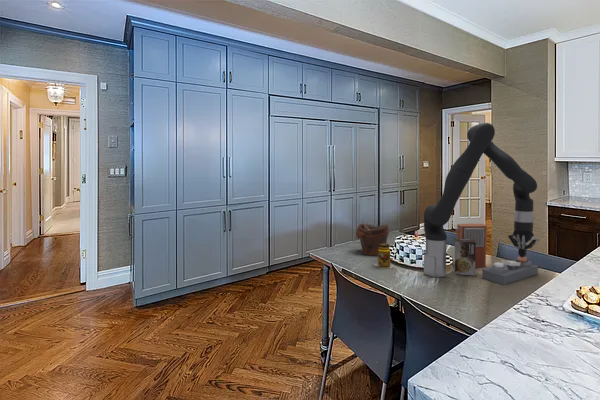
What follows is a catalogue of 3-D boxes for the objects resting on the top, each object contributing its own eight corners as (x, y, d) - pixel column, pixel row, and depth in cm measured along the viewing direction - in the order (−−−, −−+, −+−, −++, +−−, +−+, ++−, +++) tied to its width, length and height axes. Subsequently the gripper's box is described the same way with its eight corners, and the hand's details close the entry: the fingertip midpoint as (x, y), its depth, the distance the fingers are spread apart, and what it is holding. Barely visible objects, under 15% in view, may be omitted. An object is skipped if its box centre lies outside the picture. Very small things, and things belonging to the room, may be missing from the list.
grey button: (500, 269, 149) (500, 264, 148) (492, 267, 152) (492, 262, 152) (505, 268, 150) (505, 263, 150) (497, 266, 153) (497, 261, 153)
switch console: (504, 284, 145) (504, 271, 145) (482, 278, 154) (482, 265, 154) (537, 274, 157) (538, 262, 157) (515, 268, 166) (516, 257, 165)
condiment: (382, 269, 171) (382, 246, 170) (372, 265, 179) (372, 243, 177) (394, 267, 174) (394, 244, 172) (384, 263, 181) (384, 241, 180)
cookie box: (474, 272, 163) (475, 239, 161) (475, 276, 157) (476, 242, 156) (454, 270, 167) (454, 238, 165) (454, 273, 161) (454, 240, 159)
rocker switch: (510, 265, 151) (510, 262, 151) (501, 263, 155) (501, 260, 155) (520, 265, 155) (520, 262, 155) (511, 263, 159) (511, 260, 159)
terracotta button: (523, 263, 157) (523, 258, 157) (515, 261, 160) (516, 257, 160) (528, 262, 159) (528, 257, 158) (520, 260, 162) (520, 255, 161)
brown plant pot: (352, 249, 211) (352, 221, 209) (383, 248, 213) (383, 220, 211) (360, 257, 194) (360, 227, 191) (394, 256, 196) (394, 225, 194)
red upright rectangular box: (453, 263, 178) (483, 263, 176) (458, 267, 171) (489, 267, 169) (454, 223, 175) (484, 223, 174) (459, 225, 168) (490, 225, 167)
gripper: (504, 219, 161) (503, 254, 163) (534, 223, 150) (532, 261, 151) (513, 217, 165) (512, 252, 167) (543, 221, 153) (542, 258, 155)
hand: (522, 256), depth 159 cm, fingers closed
